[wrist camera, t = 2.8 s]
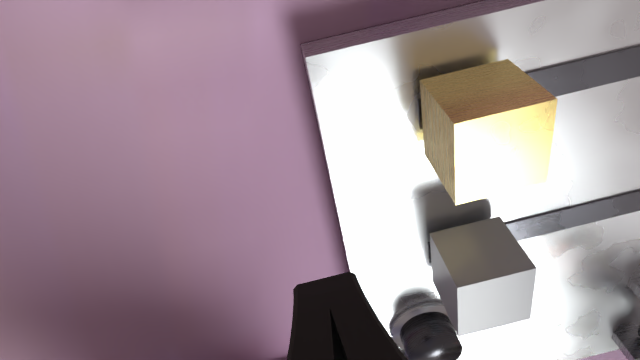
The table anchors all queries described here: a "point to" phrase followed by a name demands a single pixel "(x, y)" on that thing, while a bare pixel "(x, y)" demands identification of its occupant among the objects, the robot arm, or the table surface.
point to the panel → (513, 207)
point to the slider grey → (482, 275)
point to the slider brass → (487, 130)
